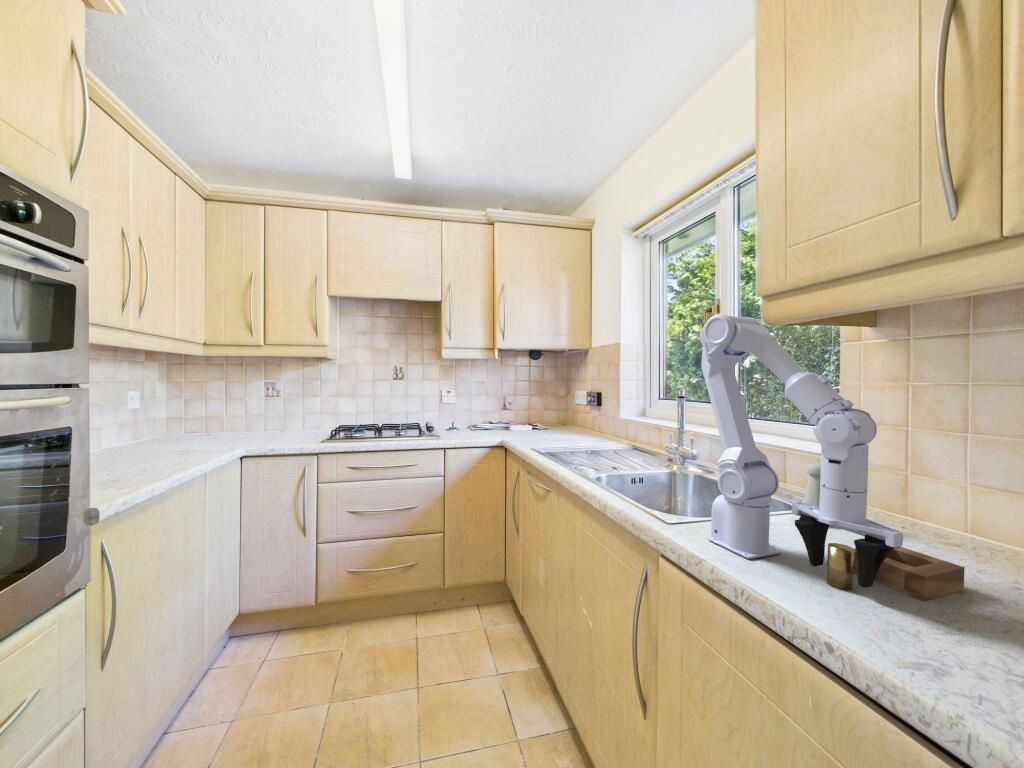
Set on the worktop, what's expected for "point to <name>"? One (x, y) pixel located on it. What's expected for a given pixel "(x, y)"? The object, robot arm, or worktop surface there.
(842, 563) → the bronze pin
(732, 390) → the robot arm
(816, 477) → the salt shaker
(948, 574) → the hole block
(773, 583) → the worktop surface
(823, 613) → the worktop surface
